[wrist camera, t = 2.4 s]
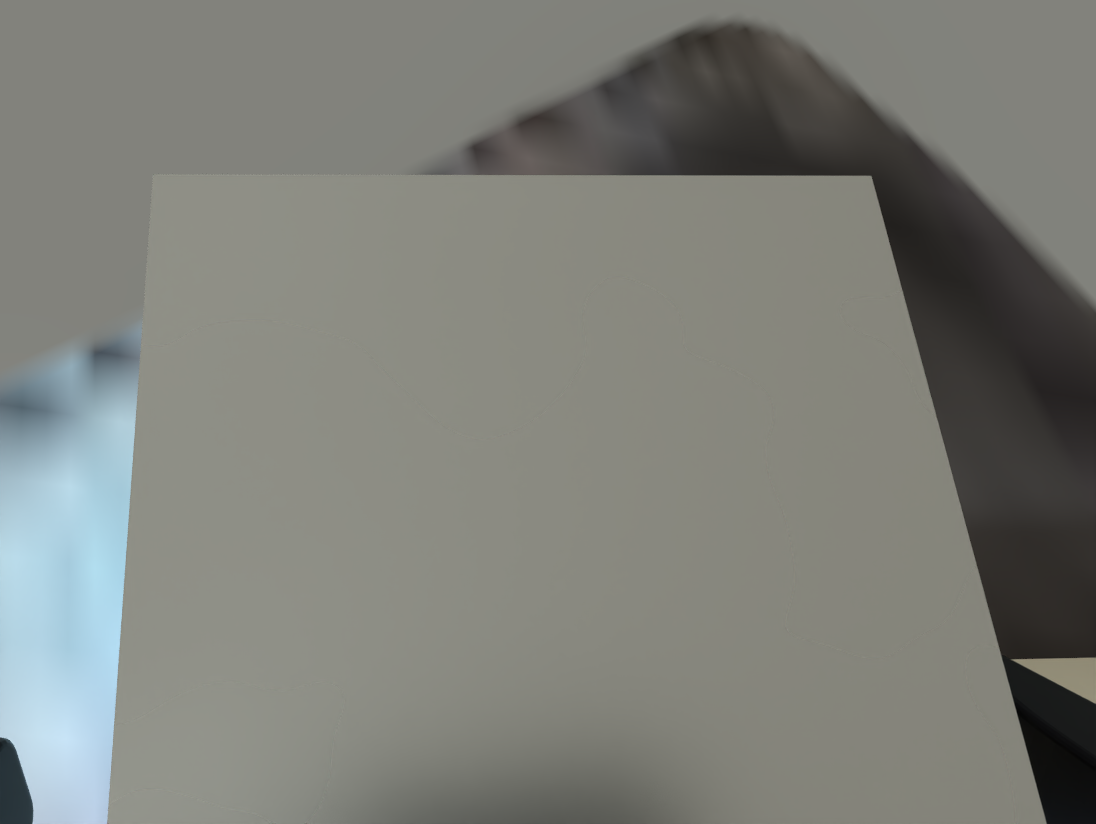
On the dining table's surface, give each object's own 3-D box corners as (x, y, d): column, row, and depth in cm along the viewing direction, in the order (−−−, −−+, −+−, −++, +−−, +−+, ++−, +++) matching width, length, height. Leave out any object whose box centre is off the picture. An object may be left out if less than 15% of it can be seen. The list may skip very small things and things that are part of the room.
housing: (612, 824, 16) (1119, 1073, 4) (337, 860, 15) (67, 1281, 4) (580, 534, 18) (874, 172, 6) (333, 552, 17) (148, 171, 5)
